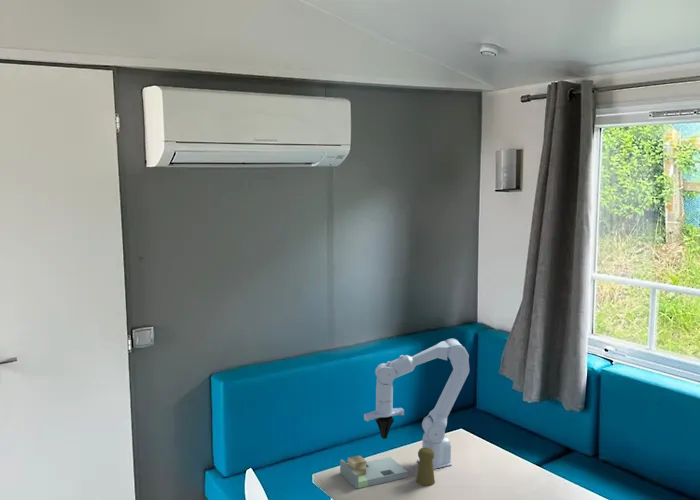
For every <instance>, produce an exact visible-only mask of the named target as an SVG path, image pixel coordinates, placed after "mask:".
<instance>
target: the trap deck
mask: <svg viewBox="0 0 700 500" xmlns="http://www.w3.org/2000/svg"><path fill="white" fill-rule="evenodd" d="M339 461H340V462H339V467H340V469H339V471H340V472H339V473H340V475H342V476H343V478H344V479H346V481H348V483H349V484H350V485H351V486H352V487H353V488H354V489H356V488H357V489H360V488H365V487H370V486H374V485H378V484H383V483H387V482H391V481H396V480H401V479H405V478H408V470H406V469H405V468H404V467H403V466H401V465H400V464H399V463H398V462H397V461H395V459H393V458H392V457H391V456H387V457H383V458H379V459H373V460H368V461H366V475H361V476H358V474H357V473H356V472H355V471H354V470H353V469H352V468H351V467H350V466H349V465H348V462H346V461H345V459H340V460H339ZM357 489H356V490H357Z"/></svg>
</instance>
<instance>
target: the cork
mask: <svg viewBox="0 0 700 500" xmlns="http://www.w3.org/2000/svg"><path fill="white" fill-rule="evenodd" d="M417 456H418V459H420V460H419V462H418V467H417V474H416V480H415V482H416V483H417V484H418V485H420V486H423V487H430V486H433V485H435V483H436V479H435V469H433V462H432V459H433V458H434V452H433V450H432V449H430V448H422V447H421V448H419V450H418V452H417Z"/></svg>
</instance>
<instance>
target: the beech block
mask: <svg viewBox="0 0 700 500" xmlns="http://www.w3.org/2000/svg"><path fill="white" fill-rule="evenodd" d="M366 462H367V460H366V459H365V458H363V457H362V456H361V455H355V456H350V457H347V464H348V465H349V466H350V467H351V468H352V469H353V470H354V471H355V472H356V473H357V474H358V476H361V475H366Z"/></svg>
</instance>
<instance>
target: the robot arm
mask: <svg viewBox="0 0 700 500" xmlns="http://www.w3.org/2000/svg"><path fill="white" fill-rule="evenodd" d="M469 358H470V355H469V353H468V351H467V349H466V347H465V346H463V344H461V343H460V342H459V340H458V339H456V338H448V339H446V340H443V341H440V342H438V343H436V344H435V345H433V346H431V347H428V348H427V349H424V350H422V351H420V352H418V353H416V354H414V355H412V356H411V355H408V354H405V355H404V354H401V355H399V357H398V358H396V359H394V360H391V361H390V360H388V361H387V362H385V363H384V362H382V363H380V364H378V365H377V367H376V368H375V370H374V374H375V376H376V386H375V410H373V411H370V412H367V413H364V414H363V420H364V421H365V422H369V421H372V420H374V421H375V422H376V424H377V427H378V429H379V433H380V438H381V439H383V440H386V439H388V436H389V432H390V429H391V427H392V425H393V423H394V422H395V418H394V416H395V417H396V416H405V409H404V408H402V407H395V408H394V407H393V404H394V403H393V402H394V399H393V398H394V394H393V393H394V386H393V382H394V381H395V379H397V378H399V377H401V376H404V375H407V374H409V373H411V372H413V371H414V370H415V368H416V366H419V365H421V364H425V363H427V362H429V361H432V360H436V359H441V360H444V361H448V359H449V360H450V364H451V366H452V371H451V373H450V375H449V377H448V380H447V381H446V383H445V386H444V388H443V389H442V391H441V394H440V395H439V398H438V400H437V402H436V404H435V406H434V408H433V409H432V410H430V411H429V413H428V415H427V416H425V417H424V418H423V420H422V423H421V427H422V430H423V431H424V432H423V435H422V447H421V448H430V449H432V450H433V452H434V458H433V459H432V462H433V470H436V469H439V468H444V467H449V466H452V462H451V459H452V458H451V457H452V456H451V455H452V454H451V452H452V449H451V448H452V446H451V441H450V440H449V438H448V437H447V436H445V435H446V428H447V426H448V425H447V424H448V417H449V415H450V413H451V411H452V408H453V407H454V404H455V402H456V400H457V398H458V396H459V394H460V392H461V390H462V388H463V386H464V384H465V382H466V380H467V377H468V376H469V374H470V371H471V370H470V362H469V361H470V360H469ZM419 460H420V459H419V458H418V459H416V461H417V462H418V463H419Z"/></svg>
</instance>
